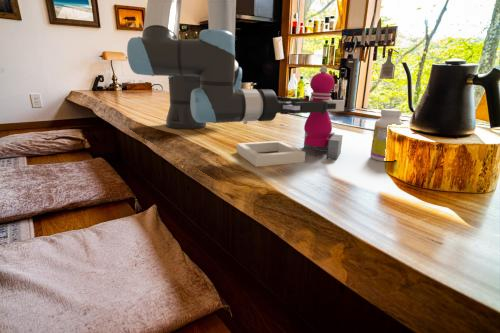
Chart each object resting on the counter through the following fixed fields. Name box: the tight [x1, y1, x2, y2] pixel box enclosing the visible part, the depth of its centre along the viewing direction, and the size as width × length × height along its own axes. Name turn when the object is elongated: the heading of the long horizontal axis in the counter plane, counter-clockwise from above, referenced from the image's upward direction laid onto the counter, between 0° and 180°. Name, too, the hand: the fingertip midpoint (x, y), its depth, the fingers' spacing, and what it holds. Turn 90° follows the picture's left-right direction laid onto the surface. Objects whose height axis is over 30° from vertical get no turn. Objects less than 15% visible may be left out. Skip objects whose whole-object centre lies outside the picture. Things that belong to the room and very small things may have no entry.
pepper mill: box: [303, 65, 335, 147], centre depth 79 cm, size 7×7×20 cm
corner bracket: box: [303, 131, 343, 161], centre depth 83 cm, size 15×7×5 cm, turn 22°
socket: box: [236, 140, 306, 168], centre depth 77 cm, size 13×13×2 cm
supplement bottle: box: [370, 108, 404, 162], centre depth 78 cm, size 7×7×13 cm
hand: (336, 104), depth 81 cm, fingers closed on pepper mill, 5 cm apart
